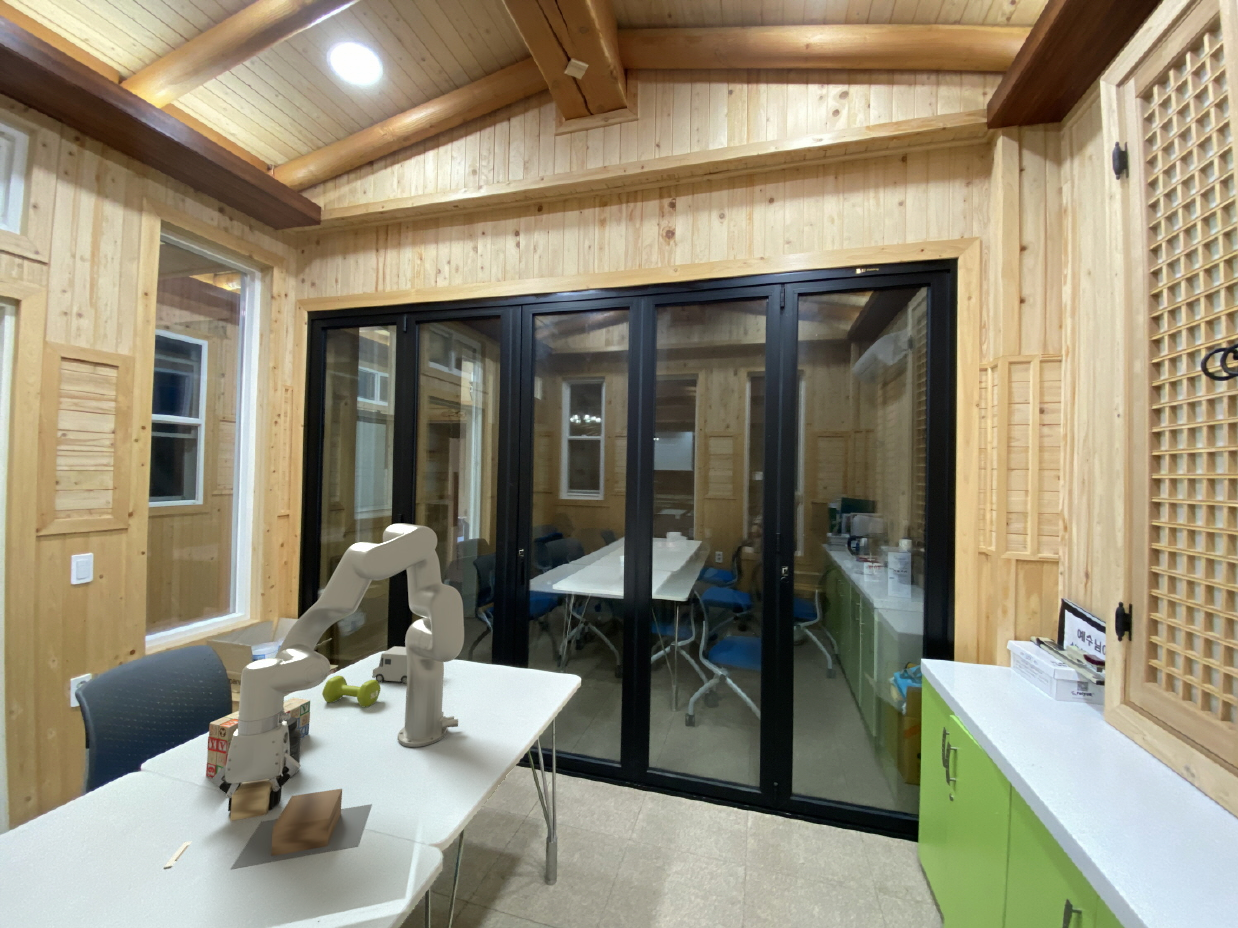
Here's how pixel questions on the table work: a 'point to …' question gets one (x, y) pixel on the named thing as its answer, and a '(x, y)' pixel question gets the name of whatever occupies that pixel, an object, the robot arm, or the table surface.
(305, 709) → the stack of blocks
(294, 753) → the supplement bottle
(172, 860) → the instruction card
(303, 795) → the brick
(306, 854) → the board
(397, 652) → the toy vehicle
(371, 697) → the dumbbell
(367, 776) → the table surface
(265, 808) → the oak brick
